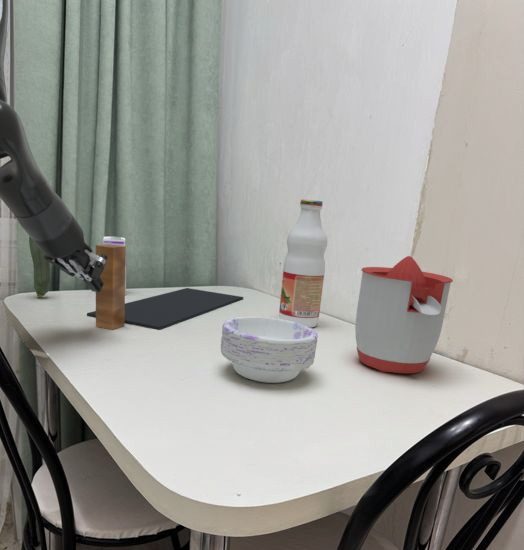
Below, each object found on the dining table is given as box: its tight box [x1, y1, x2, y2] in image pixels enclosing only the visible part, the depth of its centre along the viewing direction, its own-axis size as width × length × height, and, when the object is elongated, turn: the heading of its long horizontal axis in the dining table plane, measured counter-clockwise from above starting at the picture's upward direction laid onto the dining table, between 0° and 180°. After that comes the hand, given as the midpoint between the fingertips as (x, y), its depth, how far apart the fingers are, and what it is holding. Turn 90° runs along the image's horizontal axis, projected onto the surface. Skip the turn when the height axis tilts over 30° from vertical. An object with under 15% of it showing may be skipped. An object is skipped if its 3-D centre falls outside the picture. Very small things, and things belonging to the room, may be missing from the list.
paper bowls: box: [220, 315, 319, 384], centre depth 81 cm, size 15×15×8 cm
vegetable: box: [28, 235, 51, 299], centre depth 117 cm, size 4×4×20 cm
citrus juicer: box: [354, 255, 454, 374], centre depth 90 cm, size 16×17×20 cm
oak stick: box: [95, 244, 127, 330], centre depth 99 cm, size 4×4×16 cm
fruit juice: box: [278, 199, 328, 328], centre depth 115 cm, size 9×9×28 cm
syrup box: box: [102, 236, 127, 296], centre depth 132 cm, size 6×6×14 cm
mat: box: [86, 287, 244, 331], centre depth 125 cm, size 44×18×1 cm, turn 159°
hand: (98, 288), depth 96 cm, fingers closed
